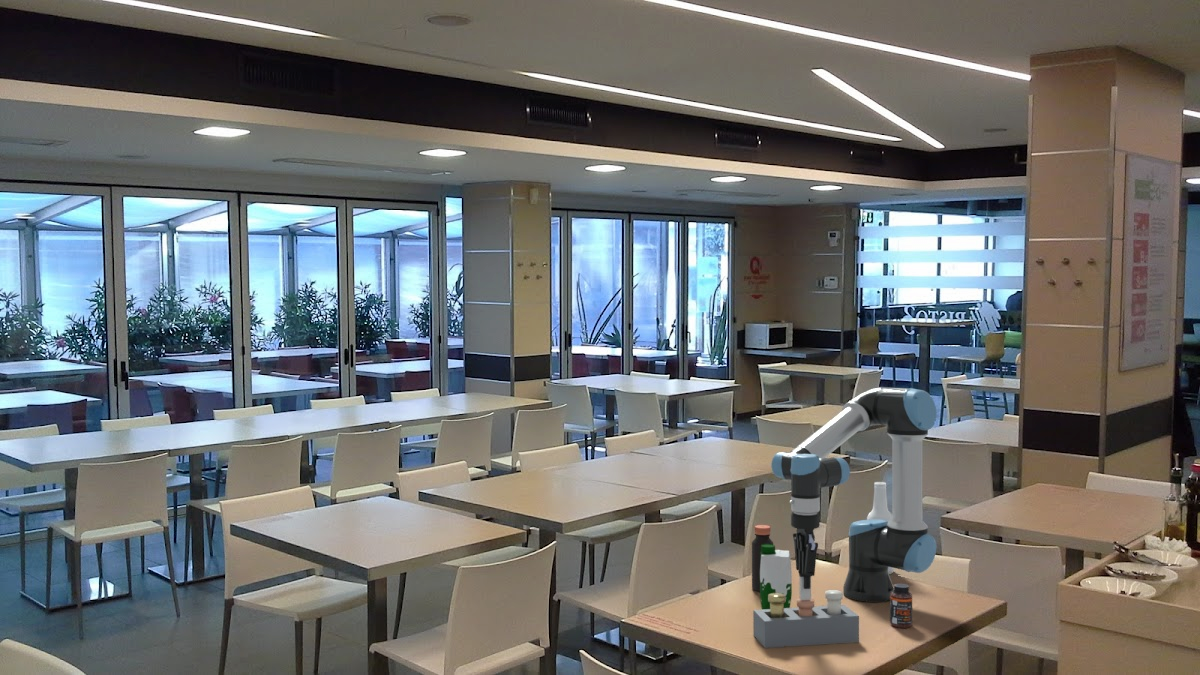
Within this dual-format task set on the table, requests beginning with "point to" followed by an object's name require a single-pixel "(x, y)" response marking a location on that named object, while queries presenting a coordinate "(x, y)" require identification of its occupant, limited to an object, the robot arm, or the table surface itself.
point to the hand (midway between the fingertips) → (805, 599)
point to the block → (805, 627)
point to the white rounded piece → (833, 601)
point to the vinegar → (758, 553)
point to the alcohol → (880, 507)
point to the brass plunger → (776, 605)
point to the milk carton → (775, 574)
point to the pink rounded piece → (805, 607)
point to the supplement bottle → (901, 606)
